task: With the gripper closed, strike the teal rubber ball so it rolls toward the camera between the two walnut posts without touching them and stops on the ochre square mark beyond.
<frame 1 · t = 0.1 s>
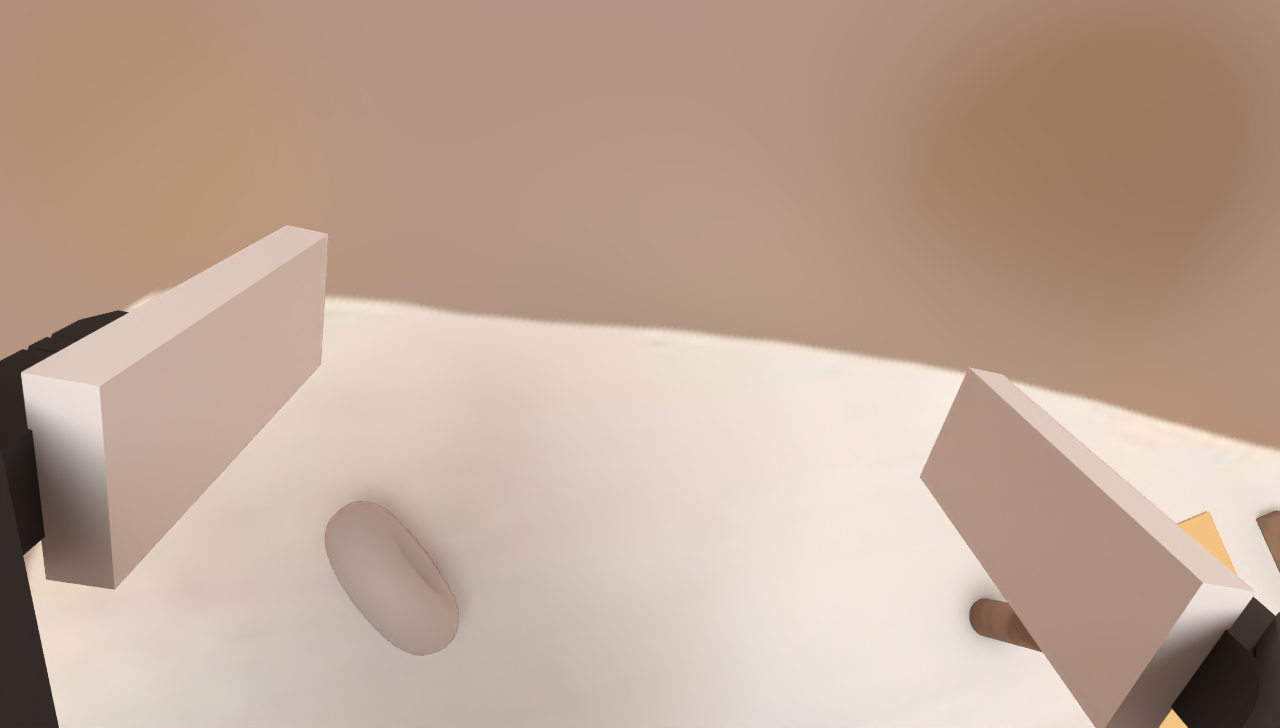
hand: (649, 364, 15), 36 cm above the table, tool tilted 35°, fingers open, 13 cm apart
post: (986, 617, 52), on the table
donut: (407, 569, 47), on the table
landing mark: (1174, 632, 54), on the table
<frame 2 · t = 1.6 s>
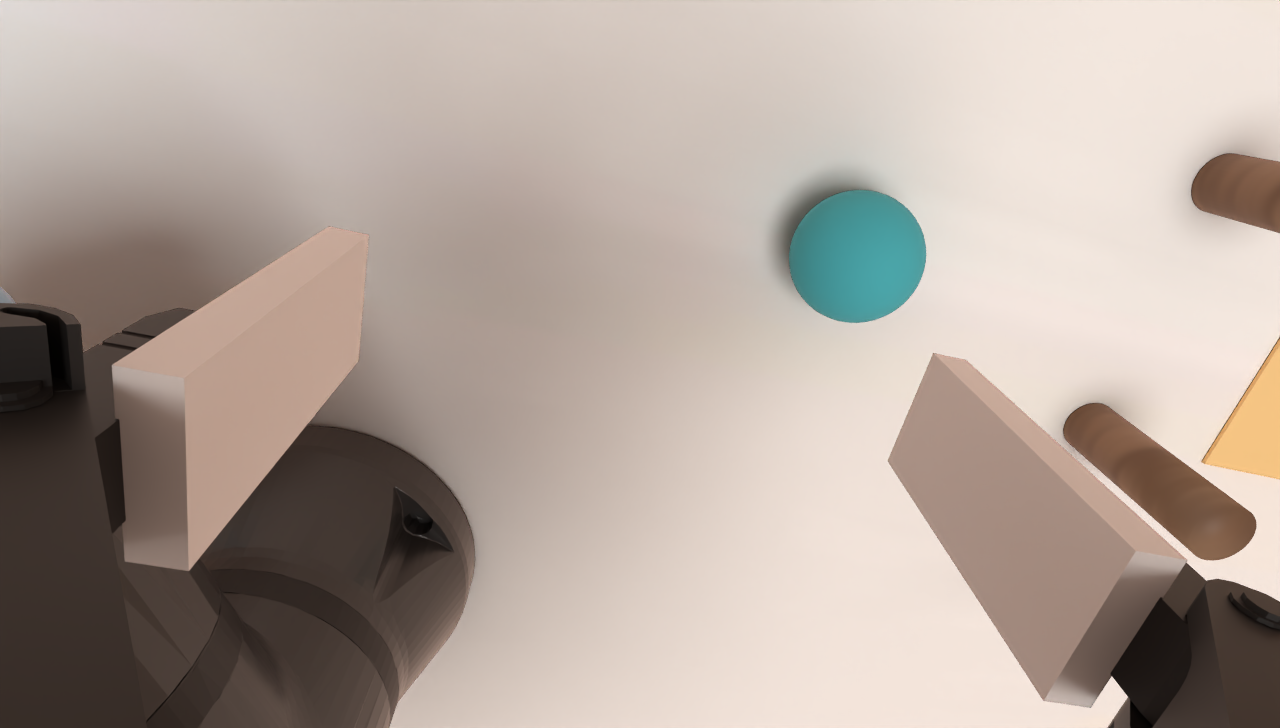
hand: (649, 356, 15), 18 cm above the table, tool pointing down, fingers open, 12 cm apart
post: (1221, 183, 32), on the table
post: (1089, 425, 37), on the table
ball: (855, 257, 30), on the table
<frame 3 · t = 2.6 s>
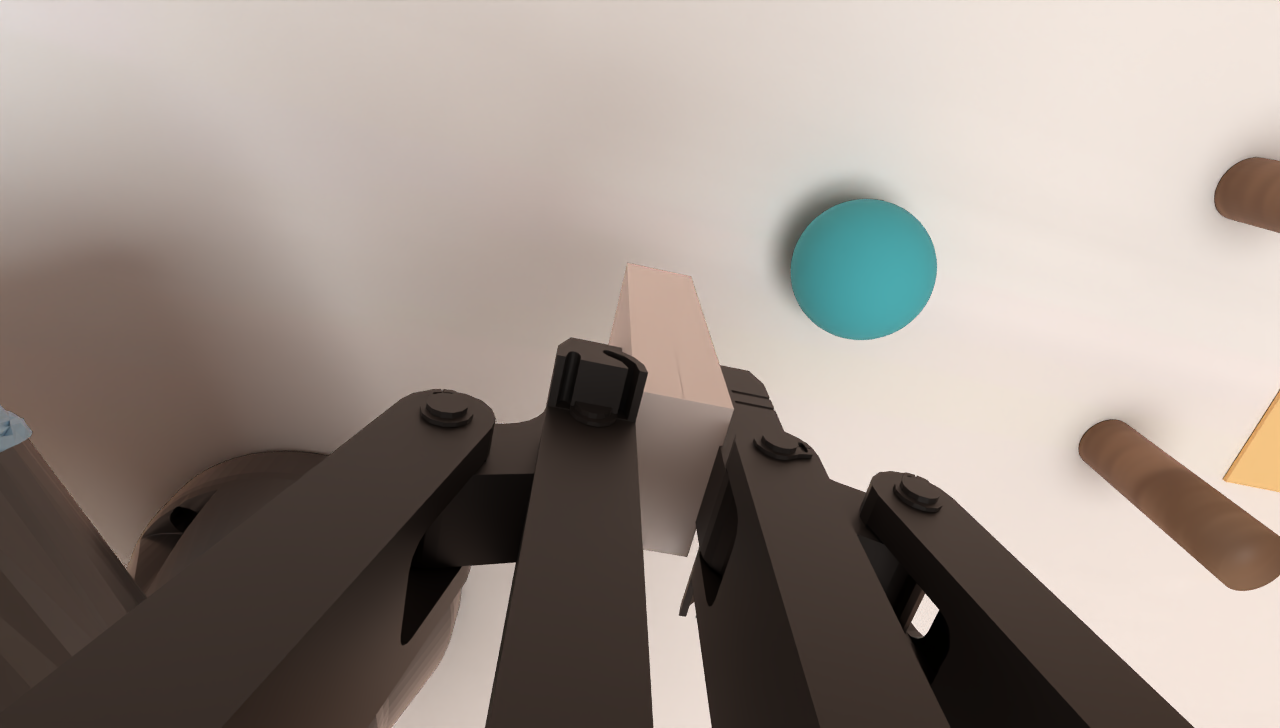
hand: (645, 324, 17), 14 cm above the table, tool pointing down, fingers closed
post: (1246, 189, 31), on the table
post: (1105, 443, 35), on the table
ball: (861, 270, 29), on the table
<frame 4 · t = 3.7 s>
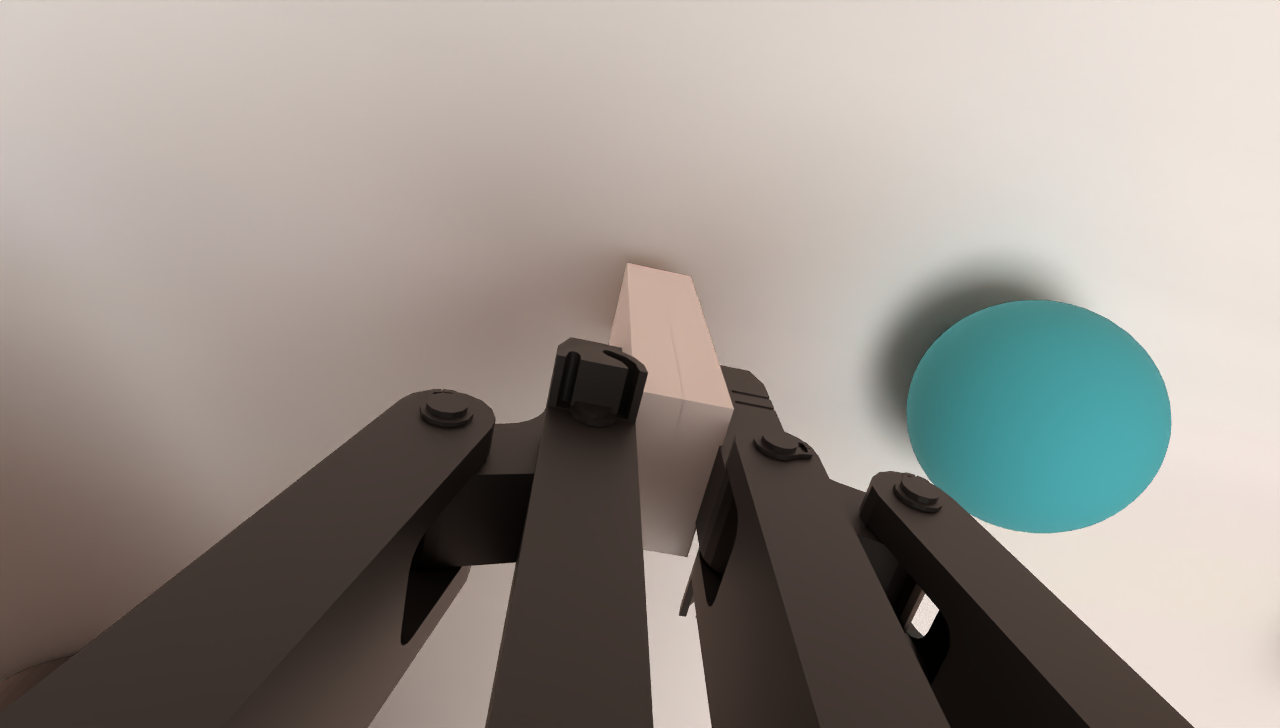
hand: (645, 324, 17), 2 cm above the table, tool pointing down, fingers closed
ball: (1028, 415, 17), on the table
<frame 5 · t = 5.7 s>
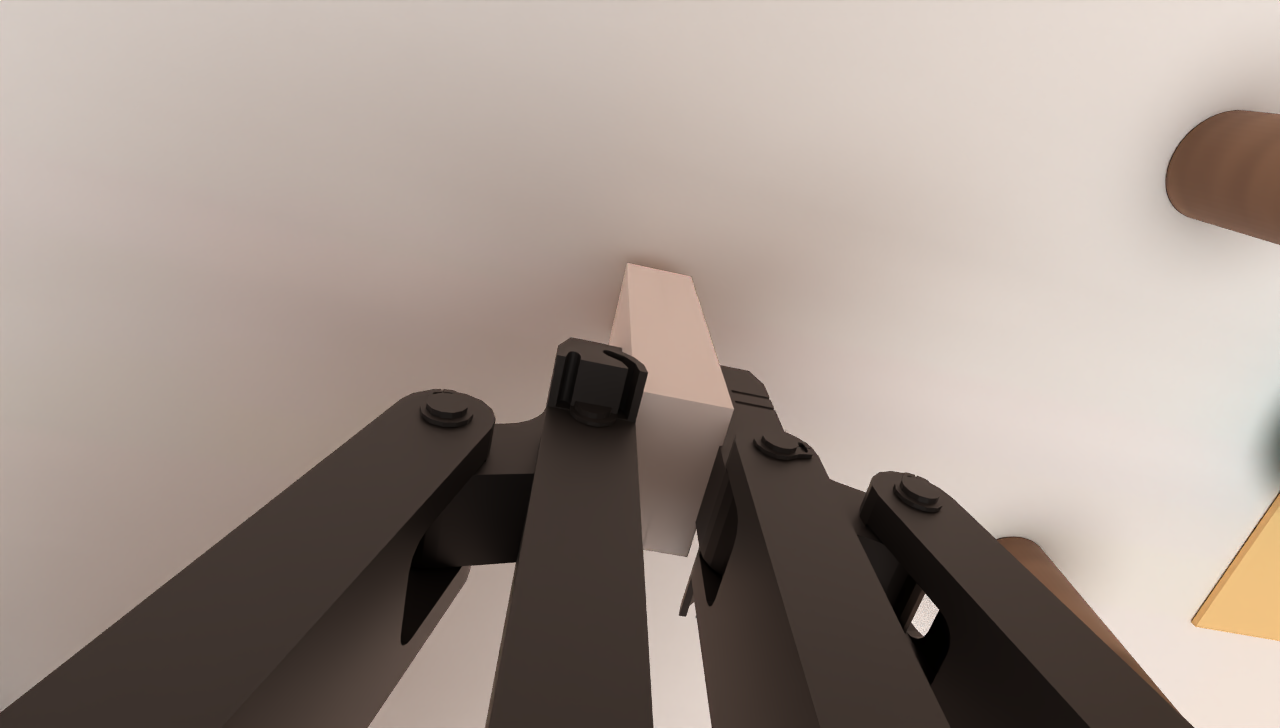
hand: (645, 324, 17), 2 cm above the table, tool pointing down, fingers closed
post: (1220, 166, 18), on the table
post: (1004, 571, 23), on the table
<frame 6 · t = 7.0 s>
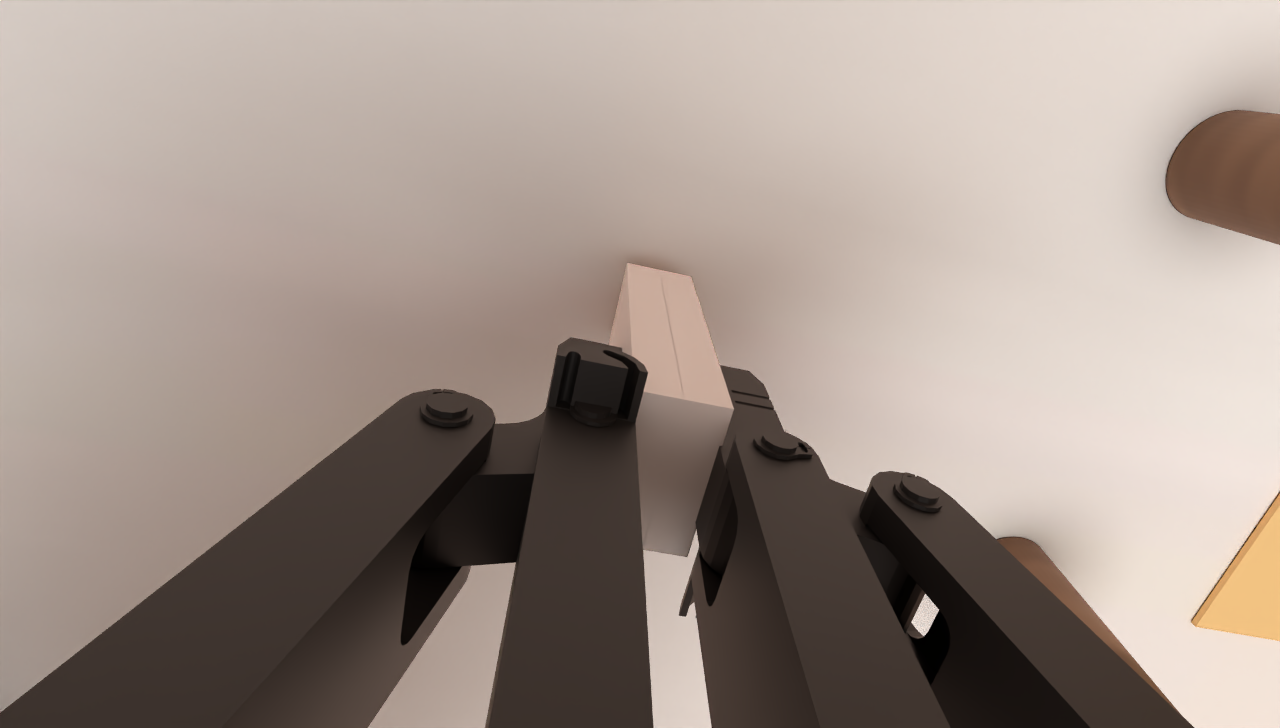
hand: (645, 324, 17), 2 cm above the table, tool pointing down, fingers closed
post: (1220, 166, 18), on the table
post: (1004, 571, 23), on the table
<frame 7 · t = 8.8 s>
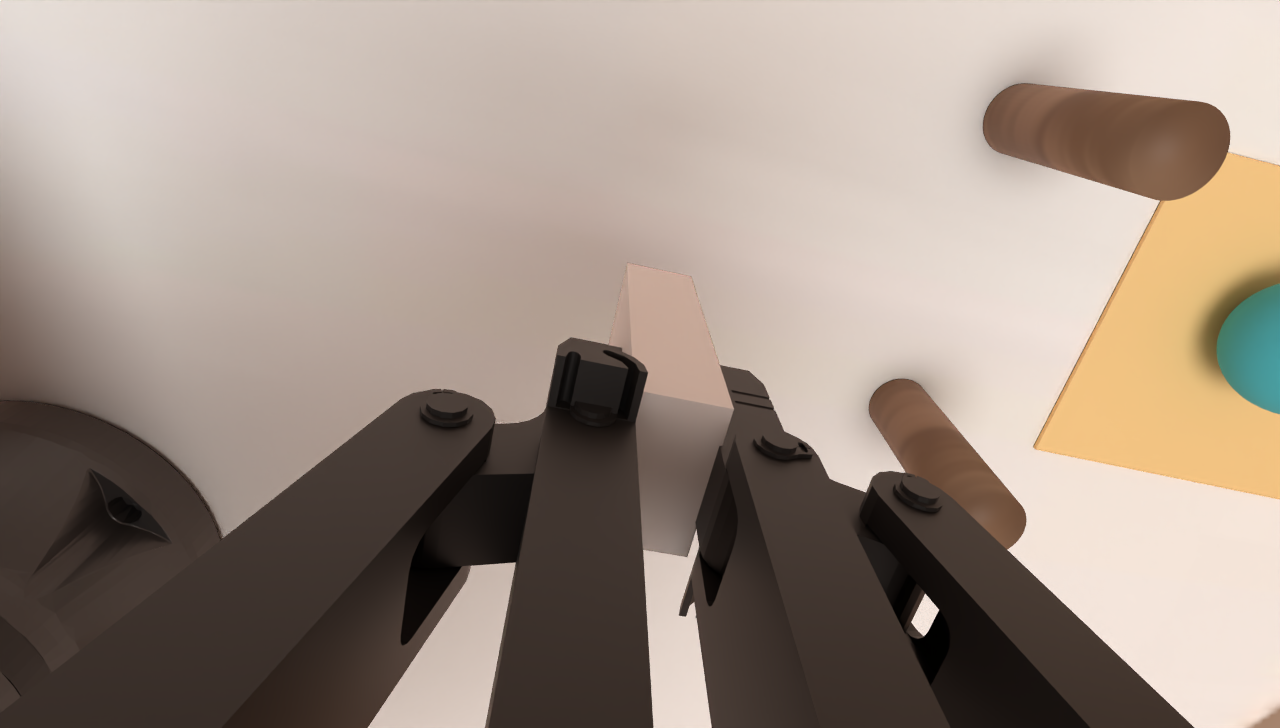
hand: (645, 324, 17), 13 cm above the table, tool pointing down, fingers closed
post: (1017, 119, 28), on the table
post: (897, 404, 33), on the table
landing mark: (1250, 342, 32), on the table
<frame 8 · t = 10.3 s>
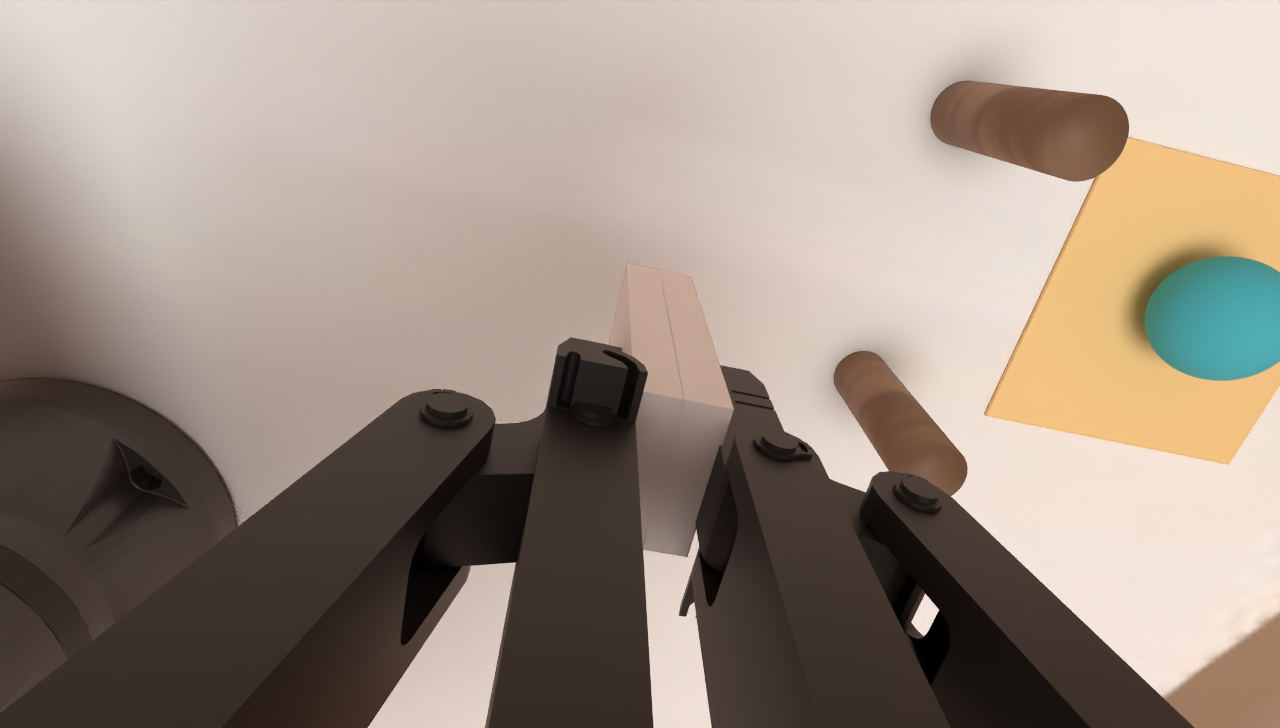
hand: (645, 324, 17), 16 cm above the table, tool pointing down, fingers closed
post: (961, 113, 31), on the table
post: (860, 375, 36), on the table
ball: (1219, 318, 32), on the table
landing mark: (1176, 315, 35), on the table
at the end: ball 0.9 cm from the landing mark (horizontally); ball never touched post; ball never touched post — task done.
